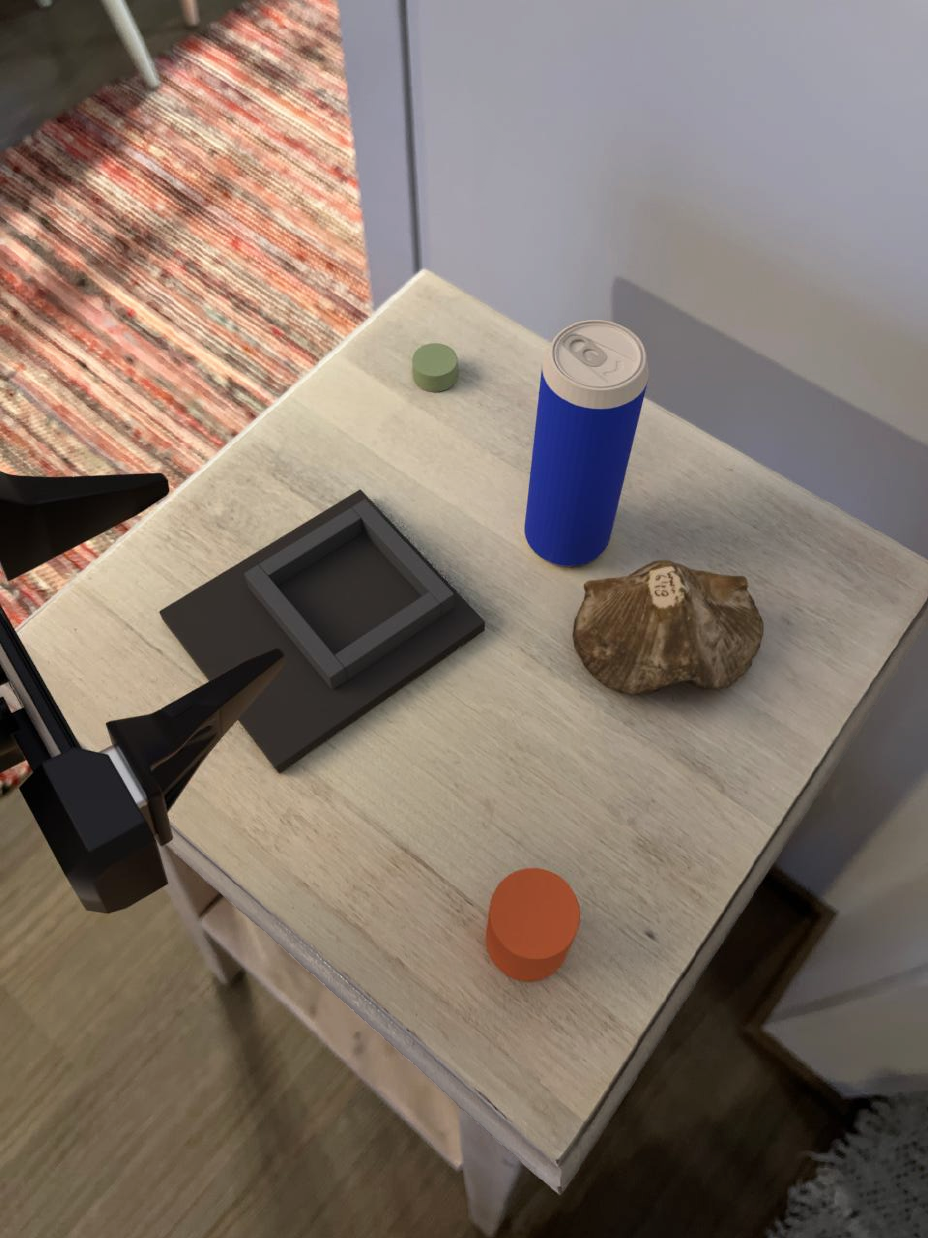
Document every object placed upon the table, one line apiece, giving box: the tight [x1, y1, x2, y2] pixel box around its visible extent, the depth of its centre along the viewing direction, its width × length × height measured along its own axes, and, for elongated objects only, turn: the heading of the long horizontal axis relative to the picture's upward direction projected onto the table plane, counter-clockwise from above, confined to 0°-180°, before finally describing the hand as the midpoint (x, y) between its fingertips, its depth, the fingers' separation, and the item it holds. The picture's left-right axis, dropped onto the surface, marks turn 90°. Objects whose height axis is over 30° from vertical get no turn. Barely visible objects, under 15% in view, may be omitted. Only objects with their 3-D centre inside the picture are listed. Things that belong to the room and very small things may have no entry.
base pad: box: [158, 489, 486, 774], centre depth 56 cm, size 14×12×2 cm
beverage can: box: [523, 319, 650, 567], centre depth 53 cm, size 5×5×15 cm
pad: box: [411, 342, 459, 393], centre depth 66 cm, size 3×3×2 cm
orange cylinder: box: [485, 867, 581, 982], centre depth 46 cm, size 4×4×5 cm
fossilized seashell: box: [571, 559, 765, 696], centre depth 54 cm, size 8×7×10 cm
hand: (222, 566), depth 39 cm, fingers open, 9 cm apart
